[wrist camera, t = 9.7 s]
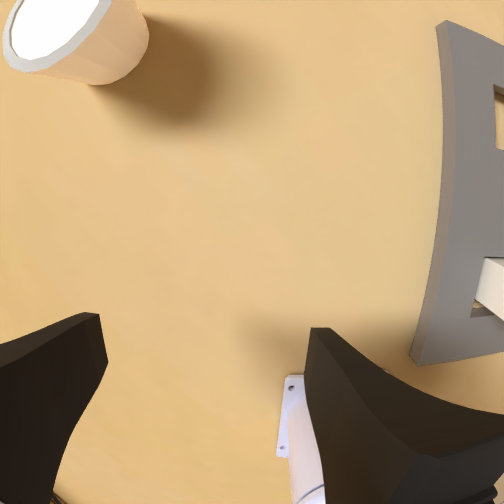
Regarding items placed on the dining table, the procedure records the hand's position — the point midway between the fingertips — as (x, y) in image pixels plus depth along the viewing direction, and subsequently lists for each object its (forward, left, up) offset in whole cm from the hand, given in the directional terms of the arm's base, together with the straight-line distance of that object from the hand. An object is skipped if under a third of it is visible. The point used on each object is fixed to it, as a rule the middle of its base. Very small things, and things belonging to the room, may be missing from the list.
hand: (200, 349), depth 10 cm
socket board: (+5, -20, -10) cm, 22 cm away
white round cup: (+14, +8, -10) cm, 19 cm away
